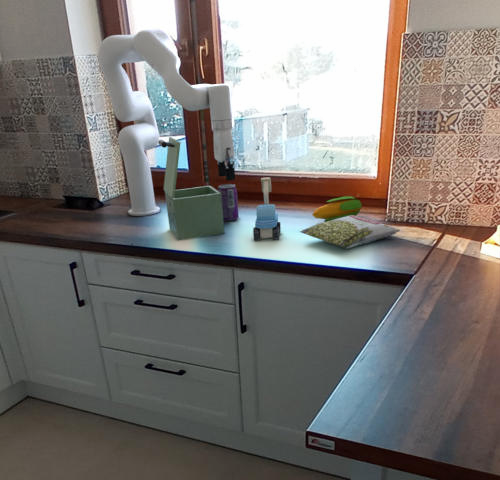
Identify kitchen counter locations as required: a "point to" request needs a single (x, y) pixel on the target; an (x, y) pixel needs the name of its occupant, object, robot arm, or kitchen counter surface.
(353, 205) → the corn
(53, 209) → the kitchen counter surface
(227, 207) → the beverage can
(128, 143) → the robot arm
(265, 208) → the toy excavator
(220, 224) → the green box
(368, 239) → the frozen beans
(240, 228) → the kitchen counter surface
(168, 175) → the green box lid
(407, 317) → the kitchen counter surface
